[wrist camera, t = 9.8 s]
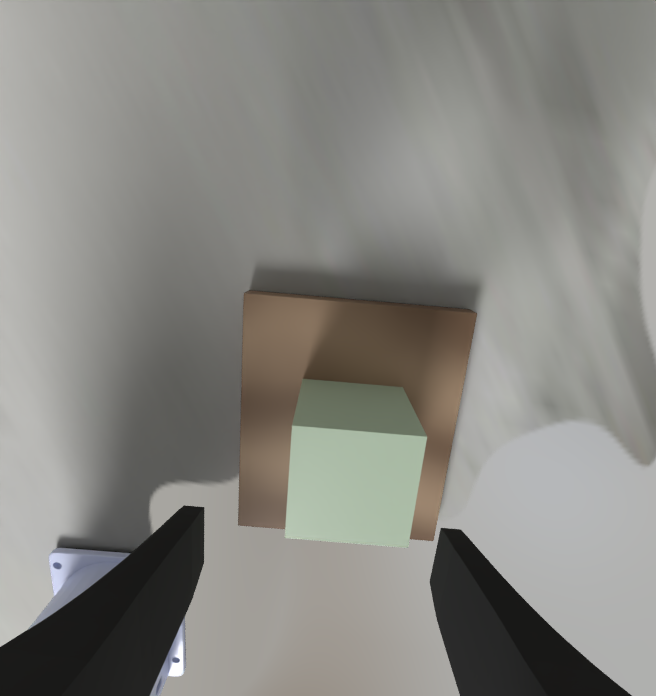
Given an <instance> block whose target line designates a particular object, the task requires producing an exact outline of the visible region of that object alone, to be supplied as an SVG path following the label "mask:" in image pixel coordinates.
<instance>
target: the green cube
mask: <svg viewBox="0 0 656 696" xmlns="http://www.w3.org/2000/svg"><path fill="white" fill-rule="evenodd" d="M426 441H427V435H426V433H425V431H424V429H423V427H422V425H421V423H420V421H419V419H418V417H417V415H416V413H415V411H414V409H413V407H412V405H411V403H410V401H409V399H408V397H407V395H406V393H405V391H404V389H403V387H394V386H383V385H371V384H359V383H347V382H335V381H324V380H312V379H303V380H302V384H301V388H300V393H299V397H298V402H297V406H296V410H295V415H294V419H293V424H292V434H291V449H290V464H289V480H288V495H287V510H286V526H285V538H293V539H305V540H317V541H329V542H342V543H354V544H355V543H356V544H368V545H379V546H392V547H405V548H408V545H409V539H410V534H411V528H412V522H413V516H414V511H415V505H416V499H417V493H418V487H419V482H420V476H421V470H422V464H423V458H424V453H425V447H426Z"/></svg>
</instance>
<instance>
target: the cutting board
mask: <svg viewBox="0 0 656 696" xmlns="http://www.w3.org/2000/svg"><path fill="white" fill-rule="evenodd" d="M476 317H477V313H475V312H473V311H471V310H469V309H460V308H448V307H437V306H425V305H413V304H402V303H390V302H378V301H367V300H355V299H344V298H332V297H320V296H309V295H297V294H285V293H274V292H262V291H251V290H249V291H247V292H245V293H244V305H243V346H242V388H241V429H240V470H239V514H238V516H239V517H238V525H240V526H252V527H265V528H277V529H285V526H286V510H287V495H288V480H289V464H290V449H291V434H292V424H293V419H294V415H295V410H296V406H297V402H298V397H299V393H300V388H301V384H302V380H303V379H312V380H324V381H335V382H347V383H359V384H371V385H383V386H394V387H403V389H404V391H405V393H406V395H407V397H408V399H409V401H410V403H411V405H412V407H413V409H414V411H415V413H416V415H417V417H418V419H419V421H420V423H421V425H422V427H423V429H424V431H425V433H426V435H427V441H426V447H425V453H424V458H423V464H422V470H421V476H420V482H419V487H418V493H417V499H416V505H415V511H414V516H413V522H412V528H411V534H410V539H415V540H428V541H433V540H434V535H435V529H436V525H437V520H438V514H439V509H440V504H441V499H442V494H443V488H444V483H445V478H446V473H447V468H448V462H449V457H450V452H451V447H452V442H453V436H454V431H455V426H456V421H457V416H458V411H459V405H460V400H461V395H462V390H463V385H464V379H465V374H466V369H467V364H468V359H469V353H470V348H471V343H472V338H473V333H474V327H475V322H476Z"/></svg>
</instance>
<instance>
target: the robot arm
mask: <svg viewBox="0 0 656 696" xmlns="http://www.w3.org/2000/svg"><path fill="white" fill-rule="evenodd" d="M49 563H50V570H51V577H52V584H53V591H54V597H53V598H52V600H51V601H50V602H49V603H48V605H47V606H46V607H45V609H44V610H43V611H42V612H41V614H40V615H39V616H38V617H37V619H36V620H35V621H34V622H33V624H32V625H31V626H30V627H29V629H28V630H27V631H25V632H23V633H22V634H20V635H19V636H17V637H16V638H14V639H12V640H11V641H9V642H8V643H6V644H4V645H3V646H1V647H0V696H160V694H161V692H162V689H163V687H164V684H165V681H166V679H167V676H180V675H182V674H183V673H184V671H185V668H186V652H185V651H186V649H185V614H186V612H187V610H188V607H189V605H190V603H191V600H192V598H193V595H194V592H195V589H196V586H197V583H198V579H199V576H200V573H201V570H202V567H203V564H204V507H194V506H183V507H182V508H181V509H179V510H178V511H177V512H176V513H175V514H174V515H173V516H172V517H171V518H170V519H169V520H167V521H166V522H165V523H164V525H162V526H161V527H160V528H159V529H158V530H157V531H156V532H154V533H153V534H152V535H151V536H150V537H149V538H148V539H147V540H146V541H144V542H143V543H142V544H141V545H140V546H139V547H138V548H137V549H135V550H134V551H133V552H132V553H120V552H107V551H95V550H82V549H69V548H56V549H54V550H53V551H52V552H51V553H50V555H49ZM430 586H431V591H432V597H433V602H434V607H435V612H436V617H437V621H438V624H439V628H440V631H441V635H442V638H443V641H444V645H445V648H446V651H447V654H448V658H449V661H450V664H451V668H452V671H453V674H454V677H455V680H456V684H457V687H458V690H459V693H460V696H631V695H630V694H629V693H628V692H627V691H625V690H624V689H623V688H621V687H620V686H619V685H618V684H616V683H615V682H614V681H613V680H611V679H610V678H609V677H608V676H607V675H605V674H604V673H603V672H602V671H601V670H599V669H598V668H597V667H596V666H595V665H593V664H592V663H591V662H590V661H589V660H587V659H586V658H585V657H584V656H583V655H582V654H581V653H580V652H579V651H577V650H576V649H575V648H574V647H573V646H572V645H571V644H570V643H568V642H567V641H566V640H565V639H564V638H563V637H562V636H561V635H560V634H559V633H557V632H556V631H555V630H554V629H553V628H552V627H551V626H550V625H549V624H548V623H547V622H546V621H545V620H544V619H543V618H542V617H541V616H540V615H539V614H538V613H537V612H536V611H535V610H534V609H533V608H532V607H531V606H530V605H529V604H528V603H527V602H526V601H525V600H524V599H523V598H522V597H521V596H520V595H519V594H518V593H517V592H516V591H515V589H514V588H513V587H512V586H511V585H510V584H509V583H508V582H507V581H506V580H505V579H504V578H503V577H502V576H501V574H500V573H499V572H498V571H497V570H496V569H495V568H494V567H493V565H492V564H491V563H490V562H489V561H488V560H487V559H486V558H485V556H484V555H483V554H482V553H481V552H480V551H479V550H478V548H477V547H476V546H475V545H474V544H473V543H472V542H471V541H470V539H469V538H468V537H467V536H466V535H465V534H464V533H463V532H462V531H461V530H459V529H447V528H441V531H440V535H439V540H438V545H437V549H436V554H435V559H434V564H433V569H432V573H431V578H430Z"/></svg>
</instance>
